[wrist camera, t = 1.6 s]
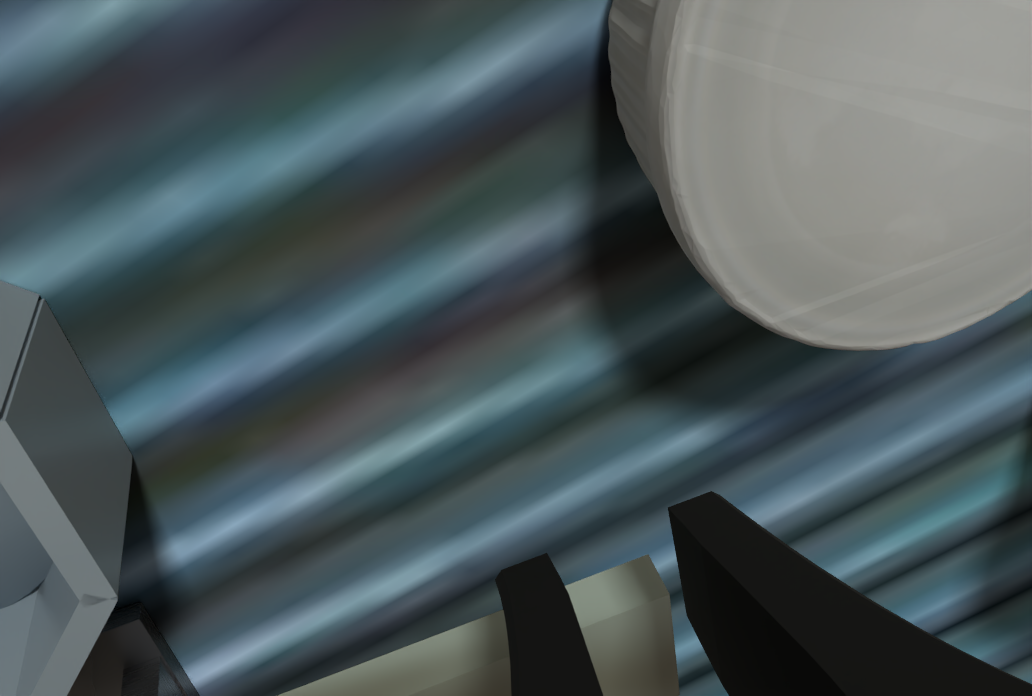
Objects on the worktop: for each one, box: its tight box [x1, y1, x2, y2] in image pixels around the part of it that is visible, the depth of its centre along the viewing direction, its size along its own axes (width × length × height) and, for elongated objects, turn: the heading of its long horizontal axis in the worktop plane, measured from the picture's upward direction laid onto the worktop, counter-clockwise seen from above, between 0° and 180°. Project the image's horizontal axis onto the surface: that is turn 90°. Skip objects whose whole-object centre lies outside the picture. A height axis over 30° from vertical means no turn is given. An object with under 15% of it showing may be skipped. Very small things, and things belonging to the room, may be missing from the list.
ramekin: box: [608, 0, 1032, 351], centre depth 19 cm, size 11×11×5 cm
